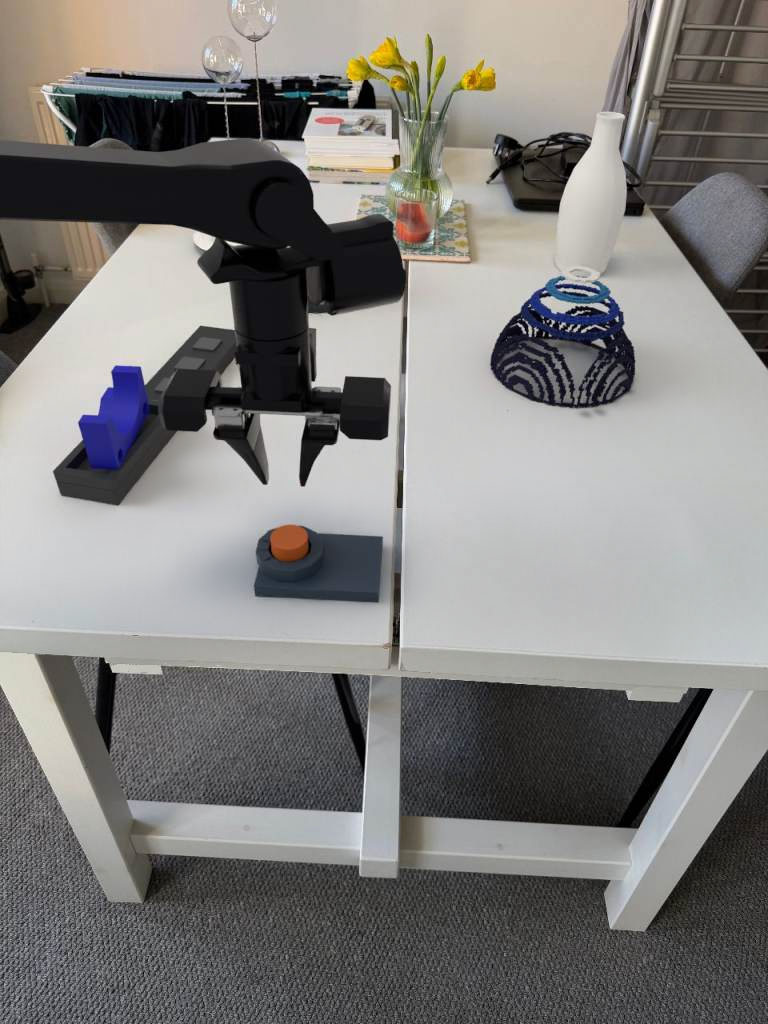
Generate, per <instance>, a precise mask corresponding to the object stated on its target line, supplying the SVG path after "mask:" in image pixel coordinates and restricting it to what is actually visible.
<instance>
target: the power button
mask: <svg viewBox="0 0 768 1024" xmlns="http://www.w3.org/2000/svg"><path fill="white" fill-rule="evenodd" d="M300 526H301V525H296V524H284V525H281V526H277V527H276V528H277V529H275V528H274V529H275V530H274V531H273V532H272V534H271V537H270V540H271V549H272V554H273V556H274V557H275V558H276V559H278V560H279V561H282V562H294V561H297V560H300V559H302V558H304V557H305V556H306V554H307V553H308V535H307V532H306V531H305V530H304V529H303V528H302V527H300Z"/></svg>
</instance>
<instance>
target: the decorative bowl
mask: <svg viewBox="0 0 768 1024" xmlns="http://www.w3.org/2000/svg"><path fill="white" fill-rule="evenodd" d="M574 271H583V272H586V273H588V274H590V276H589V277H586V276H585V277H583V276H582V277H580V276H574V275H573V274H571V272H574ZM559 274H560V276H557V277H552V278H550V279H549V280H548V281H547V282H546V284H545V286H544V287H542V288H539V289H537V290H536V291H534V292H533V294H531V296H530V298H528V299H527V300H526V301H525V302H524V303H523V305H521V307H520V311H519V312H518V313H517V314H515V315H513V316H512V317H511V318H510V319H509V321H508V322H507V323H506V325H504V328H503V329H502V330H501V332H499V335H498V337H497V339H496V340H495V343H494V346H493V349H492V352H491V355H490V363H489V366H490V370H491V371H492V374H493V375H494V378H496V380H497V381H499V383H501V385H502V386H504V387H505V388H506V389H507V390H510V391H511V392H515V393H516V394H518V395H520V396H522V397H523V398H526V399H528V400H530V401H532V402H534V401H535V402H537V403H544V404H546V405H548V406H553V407H555V406H558V407H561V408H562V407H563V408H567V407H568V408H569V409H572V408H576V409H578V408H583V409H584V408H588V407H592V408H594V407H599V406H601V405H608V404H612V403H614V402H615V401H617V400H618V399H620V398H621V397H623V396H624V395H625V394H628V392H630V391H631V389H632V385H633V383H634V379H635V375H636V361H637V360H636V356H635V349H634V348H635V346H633V343H632V340H630V339H629V337H628V335H627V333H626V332H625V329H624V325H625V324H626V322H625V321H624V320H625V319H624V316H625V314H624V311H622V310H620V309H621V307H619V303H617V301H616V300H615V299H614V298H613V297H611V296H610V294H611V292H612V291H611V289H610V288H609V287H608V286H607V285H604V284H603V283H602V282H601V281H599V280H600V278H601V276H602V274H600V273H599V272H597V271H596V270H594V269H591V268H588V267H582V266H575V265H574V266H572V267H570V266H569V267H567V268H564V269H562V271H559ZM566 280H568V281H571V282H573V283H562V284H561V283H559V282H562V281H566ZM558 283H559V284H558ZM574 283H581V284H574ZM587 283H591V284H592V285H595V286H597V287H598V288H599V289H598V288H597V287H592V286H591V285H590V286H589V285H588V286H587V285H584V284H587ZM582 284H583V285H582ZM561 289H564V290H562V291H561ZM569 289H571V290H575V291H567V290H569ZM576 290H577V291H576ZM578 290H580V291H585V292H588V293H592V294H593V295H589V294H587V293H582V292H578ZM551 297H553V298H555V299H556V300H558V301H560V302H566V303H572V304H577V305H575V306H574V307H571V308H570V309H568V310H566V311H565V312H563V313H562V312H560V311H557V312H555V313H554V312H552V308H550V307H548V306H547V305H545V304H544V303H542V299H543V298H545V299H546V298H551ZM606 300H607V301H608V302H607V301H606ZM595 303H596V304H601V305H602V306H603V305H604V306H603V307H606V308H607V309H608V310H607V312H606V311H603V310H601V309H598V308H596V307H593V306H588V305H590V304H592V305H594V304H595ZM581 304H582V305H581ZM578 305H580V306H578ZM584 305H585V306H584ZM617 318H618V319H617ZM617 320H618V321H617ZM553 322H554V323H553ZM520 325H521V326H520ZM551 325H552V326H551ZM561 326H562V327H561ZM578 326H579V327H578ZM589 327H591V328H589ZM529 328H531V336H530V333H529V331H530V329H529ZM569 328H570V329H569ZM523 329H524V330H523ZM575 329H577V330H575ZM536 330H537V331H536ZM574 330H575V331H574ZM584 330H585V331H584ZM535 331H536V332H535ZM583 331H584V332H583ZM524 332H525V333H524ZM542 339H544V340H542ZM549 339H550V340H560V341H564V340H565V341H569V342H573V343H574V342H575V343H581V344H583V345H585V346H587V347H592V348H595V349H597V350H599V351H597V357H596V358H595V360H593V362H592V364H591V365H590V367H589V368H588V370H586V371H587V372H586V373H585V375H583V378H584V379H582V380H581V384H579V386H578V390H577V391H578V392H579V393H578V396H577V397H575V396H574V393H575V391H576V388H575V384H576V383H574V380H575V379H573V377H574V375H573V374H572V372H571V370H570V367H568V364H567V362H566V360H565V359H566V356H564V353H560V350H559V348H558V347H557V346H552V345H549V342H547V341H545V340H549ZM597 340H600V341H602V343H603V345H604V347H603V346H601V345H599V344H597V343H594V342H596V341H597ZM525 341H529V342H531V343H532V344H535V345H538V346H540V347H542V348H543V350H545V351H546V352H544V351H541V350H539V349H537V348H535V347H532V346H530V345H528V343H526V342H525ZM517 350H519V351H517ZM523 350H524V351H525V352H527V353H530V354H532V355H535V356H536V357H539V358H543V361H544V362H543V361H542V360H540V359H537V358H532V357H530V356H529V355H528V354H525V353H524V352H522V351H523ZM515 351H517V352H515ZM514 352H515V353H514ZM551 352H552V353H553V354H552V353H551ZM511 353H514V354H512V355H510V354H511ZM605 354H606V355H605ZM506 355H510V356H509V357H507V358H505V356H506ZM553 356H554V359H556V360H557V362H559V363H560V364H559V365H561V368H557V367H556V365H557V363H555V362H554V361H553ZM504 358H505V359H504ZM613 358H614V360H613ZM598 361H600V362H599V364H598V366H597V365H596V364H597V363H598ZM500 362H501V363H500ZM612 362H613V363H612ZM499 363H500V364H499ZM516 363H519V364H517V365H515V364H516ZM498 364H499V365H498ZM512 364H513V365H512ZM510 365H512V366H510ZM524 365H528V366H530V367H529V368H528V367H525V366H524ZM607 365H610V366H608V367H607V368H606V370H605V372H603V373H602V375H601V377H600V378H599V380H598V379H597V378H598V376H599V375H600V373H601V372H602V370H604V368H605V367H606V366H607ZM619 365H621V366H623V369H621V370H620V371H619V372H617V373H616V375H615V376H614V377H613V378H612V379H611V381H609V384H608V381H607V380H608V378H609V377H610V375H612V373H613V372H614V371H615V370H616V368H619ZM508 366H510V367H508ZM507 367H508V368H507ZM505 368H507V369H505ZM548 368H550V370H551V373H553V374H552V375H553V376H555V383H558V385H557V386H558V388H559V389H558V394H559V397H558V399H559V400H560V401H559V402H558V401H557V400H556V399H555V398H556V393H555V389H554V385H553V382H552V380H551V379H550V377H549V375H548V374H549V370H548ZM518 370H519V371H521V372H524V373H526V374H528V375H530V378H532V379H533V381H534V384H537V389H538V393H539V397H537V396H536V395H535V390H534V386H533V384H532V383H531V382H530V380H528V379H526V378H523V377H522V376H520V375H517V374H513V375H511V376H509V375H510V374H511V373H514V372H516V371H518ZM533 370H534V371H536V372H537V374H538V375H539V376H537V374H536V373H535V372H534V371H533ZM561 370H563V372H564V373H565V375H564V377H565V378H566V380H567V382H568V383H569V384H568V387H566V385H565V383H564V378H563V376H562V373H560V371H561ZM595 370H596V371H595ZM623 375H626V376H627V377H626V378H625V379H623V380H621V381H620V382H618V384H617V385H616V386H615V388H614V389H613V392H612V393H611V396H610V397H609V398H608V399H607V397H608V395H609V393H610V391H611V389H612V387H613V386H614V384H615V383H616V382H617V381H618V379H619V378H620V377H621V376H623ZM508 376H509V377H508ZM540 378H541V379H540ZM541 380H543V383H544V385H545V387H544V386H543V384H542V382H541ZM595 383H597V384H596V386H595V388H594V390H593V392H591V390H592V388H593V387H594V386H593V385H594V384H595ZM518 384H520V385H521V386H523V388H524V390H525V393H524V392H522V391H520V390H518V389H517V388H515V386H517V385H518ZM585 384H586V386H585V387H584V385H585ZM607 385H608V386H607ZM583 387H584V388H583ZM566 388H568V389H569V391H568V390H567V389H566ZM622 388H623V389H622ZM544 389H545V390H544ZM621 389H622V391H621ZM584 390H585V391H586V392H585V397H586V399H585V402H581V400H582V397H583V396H582V395H583V392H584ZM567 391H568V392H569V393H570V395H569V399H571V402H570V401H569V402H565V401H564V400H565V396H566V395H567ZM620 391H621V392H620ZM526 393H527V394H526ZM545 393H546V394H547V400H546V399H544V398H545ZM590 397H591V399H590ZM599 398H602V399H601V401H600V400H599ZM576 400H577V401H576ZM575 401H576V404H575ZM590 401H591V402H590ZM589 402H590V403H589Z"/></svg>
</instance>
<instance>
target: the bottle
mask: <svg viewBox="0 0 768 1024" xmlns="http://www.w3.org/2000/svg"><path fill="white" fill-rule="evenodd" d="M595 117H596V122H595V126H594V130H593V134H592V137H591V138H592V139H591V141H590V146H589V147H588V148H587V150H586V151H585V152H584V154H583V156H582V157H581V158H580V160H578V162H577V164H576V165H575V166H574V168H573V169H572V172H571V174H570V176H569V178H568V180H567V182H566V185H565V186H564V191H563V192H562V196H561V199H560V203H559V210H558V217H557V224H556V225H557V226H556V233H555V260H554V261H555V262H554V263H555V266H556V268H557V269H558V270H559V272H561V271H562V269H564V268H567V267H569V266H570V267H572V266H574V265H575V266H582V267H588V268H591V269H594V270H596V271H597V272H599V273H600V274H601V275H602V274H603V273H604V272H605V271H606V269H607V267H608V264H609V262H610V259H611V256H612V255H613V252H614V248H615V247H616V244H617V241H618V237H619V234H620V231H621V226H622V223H623V219H624V216H625V212H626V207H627V206H626V205H627V196H628V195H627V194H628V189H627V188H628V187H627V173H626V169H625V166H624V163H623V159H622V155H621V152H620V144H621V137H622V130H623V125H624V121H625V119H626V115H625V114H623V113H620V112H615V111H601V112H600V111H599V112H597V113H596V116H595ZM571 274H573V275H574V276H580V277H582V276H583V277H585V276H586V277H589V276H590V274H588V273H586V272H583V271H574V272H571Z"/></svg>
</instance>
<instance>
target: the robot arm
mask: <svg viewBox="0 0 768 1024" xmlns="http://www.w3.org/2000/svg"><path fill="white" fill-rule="evenodd" d="M314 200H315V199H314V191H313V188H312V185H311V182H310V180H309V178H308V177H307V176H306V174H305V172H304V171H303V170H302V168H301V167H299V166H297V165H296V164H295V163H294V162H292V161H291V160H289V159H288V158H286V157H285V156H284V155H282V154H280V153H279V152H278V151H276V150H275V149H274V148H272V147H271V146H269V145H267V144H266V143H265V142H264V141H262V140H258V139H256V138H255V139H254V138H252V137H251V138H250V137H244V138H243V137H241V138H234V139H233V138H231V139H225V140H224V139H223V140H214V141H205V142H200V143H196V144H193V145H190V146H187V147H183V148H181V149H175V150H167V151H148V150H147V151H146V150H133V149H123V148H122V149H121V148H120V149H119V148H107V147H96V146H85V145H84V146H83V145H70V144H69V145H68V144H56V143H45V142H44V143H43V142H30V141H19V140H18V141H17V140H6V139H0V221H1V220H2V221H3V220H4V221H5V220H6V221H10V220H11V221H29V222H30V221H31V222H33V221H34V222H35V221H36V222H62V223H63V222H65V223H66V222H68V223H97V224H126V225H155V226H156V225H157V226H158V225H159V226H160V225H161V226H175V227H179V228H184V229H189V230H192V231H195V232H196V231H198V232H201V233H204V234H207V235H210V236H213V237H216V238H215V241H214V243H213V245H212V246H211V247H210V248H209V249H208V250H207V251H204V252H203V253H202V255H201V256H200V257H199V258H198V259H197V260H196V264H197V266H198V268H200V270H201V271H202V272H203V273H204V275H205V276H206V277H207V278H208V280H209V281H210V283H212V284H213V285H221V284H226V283H228V285H229V292H230V302H231V308H232V317H233V325H234V326H233V327H234V330H235V350H236V351H235V357H234V358H235V365H238V370H239V377H240V386H237V387H235V386H234V387H233V386H232V387H231V386H223V383H222V376H221V375H222V374H221V375H220V373H219V372H218V371H217V370H198V369H177V370H176V371H175V372H174V373H173V374H172V376H171V378H170V380H169V381H168V383H167V385H166V387H165V389H164V391H163V393H162V395H161V396H160V398H159V403H158V412H159V417H160V422H161V426H162V427H163V428H164V429H165V430H169V431H176V432H192V433H197V432H199V431H200V430H201V429H203V428H204V427H205V425H206V424H207V421H208V417H207V411H211V416H212V417H213V419H214V425H215V426H214V429H213V431H212V435H213V438H214V439H215V440H217V441H223V442H225V443H226V444H227V445H228V446H229V447H230V448H231V449H232V450H234V452H235V453H236V454H238V456H239V457H240V458H241V459H242V460H243V461H244V462H245V464H246V465H247V466H248V467H249V469H250V470H251V471H252V473H253V474H254V476H256V478H257V479H258V481H260V483H261V484H262V485H263V486H267V485H268V484H269V481H270V469H269V461H268V455H267V451H266V446H265V439H264V436H263V435H264V434H263V431H262V425H261V415H276V416H298V417H300V416H301V417H304V418H305V419H304V420H305V422H304V426H303V431H302V435H301V439H300V452H299V453H300V455H299V471H298V481H299V486H300V488H301V487H302V488H303V487H304V488H305V487H306V485H307V483H308V480H309V476H310V475H311V471H312V468H313V466H314V463H316V460H317V458H318V457H319V455H320V454H321V452H322V451H323V449H324V447H326V446H334V445H336V444H337V443H338V441H339V433H342V434H343V435H344V436H345V437H347V438H348V439H349V440H360V441H361V440H363V441H364V440H365V441H383V440H385V439H387V438H388V437H389V428H390V416H391V400H392V385H391V384H390V382H389V381H388V380H387V378H385V377H372V376H350V375H345V376H344V382H343V386H342V387H343V388H341V387H339V386H337V387H336V386H314V387H313V386H312V383H315V382H316V380H317V375H318V373H317V328H314V327H310V323H309V322H310V321H309V319H310V318H309V313H308V297H307V292H308V295H309V297H310V299H311V301H312V302H313V303H314V304H315V305H322V307H323V308H324V310H325V311H326V312H325V313H326V314H328V315H330V316H333V317H334V316H339V315H343V314H347V313H353V312H358V311H362V310H367V309H372V308H376V307H381V306H387V305H391V304H396V303H398V302H400V301H401V300H402V298H403V296H404V294H405V290H406V285H407V271H406V269H405V268H404V263H403V258H402V253H401V251H400V248H399V245H398V243H397V241H396V239H395V237H394V225H395V224H394V222H393V221H391V220H390V219H389V218H387V217H386V216H384V215H383V214H382V213H374V214H369V215H365V216H363V217H361V218H358V219H353V220H347V221H340V222H335V223H333V222H332V223H326V222H325V221H324V219H323V218H322V217H321V216H320V215H319V214H318V212H317V211H316V209H315V205H314V204H315V203H314V202H315V201H314ZM226 241H228V242H233V243H238V244H243V245H236V246H233V245H230V244H228V243H227V242H226ZM288 246H290V247H288ZM286 247H287V248H286Z"/></svg>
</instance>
